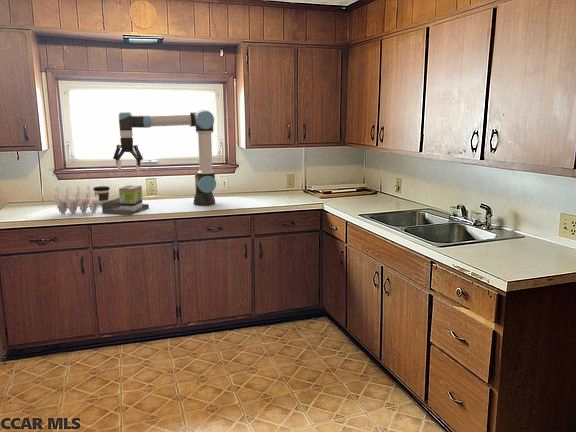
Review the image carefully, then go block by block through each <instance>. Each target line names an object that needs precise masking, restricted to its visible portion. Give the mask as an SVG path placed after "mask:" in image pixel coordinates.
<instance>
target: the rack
mask: <svg viewBox="0 0 576 432" xmlns="http://www.w3.org/2000/svg"><path fill="white" fill-rule="evenodd" d="M142 204H143V207H141V208H139V209H137V210H135V211H131V210H120V198H119V197H117V198H114V199H110V200H109V199H108V201H106V202H102V205H101V211H102V214H104V215H105V214H106V215H117V214H119V215H120V216H132V215H135V214H138V213H140V212H143V211H146V210H149V209H150V207H149V206H150V205H149V203H142Z"/></svg>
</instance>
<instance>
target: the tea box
mask: <svg viewBox="0 0 576 432" xmlns="http://www.w3.org/2000/svg"><path fill="white" fill-rule="evenodd" d="M118 194H119V197H118V198H120V210H131V211H135V210H137V209H139V208H141V207H143V204H144V203H143V187H142V185H135V184H134V185H131V184H130V185H126V186H125V185H124V186H123V187H120V188H119V189H118Z"/></svg>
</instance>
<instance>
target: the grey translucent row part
mask: <svg viewBox="0 0 576 432" xmlns="http://www.w3.org/2000/svg"><path fill="white" fill-rule="evenodd" d="M80 194H81V193H80V187H79V185H77V187H76V194H75V197H74V196H70V187H69V186H66V189H65V196H60V189H59V186H56V188H55V194H54V195H55V196H54V197H55V204H56V205H57V207H56V209H58V212H59V213H60V214H61V215H65V214H66V212H67V211H68V210H69V213H71V215H72V216H73V215H74V214H76V212H77V210H78V208H79V211H80V210H81V214H85V213H86V212H87V211H88V208H89V210H90V211H91V214H95V213H96V211H97V210H98V207H99V205H98V204H99V195H98V194H96V196H94V197H90V186H89V185H87V187H86V194H85V197H82V196H80Z"/></svg>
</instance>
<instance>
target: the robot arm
mask: <svg viewBox="0 0 576 432" xmlns="http://www.w3.org/2000/svg"><path fill="white" fill-rule="evenodd" d="M118 124H119V137H120V138H119V141H120V144H116V149H115V152H114V154H113V157H112V159H113V160H115V163H116V166H117V171H119V172H120V171H122V161H121V158H122V157H123V155H124V154H125V153H130V154H131V155H132V156H133V158H134V159H135V160H136V161H135V167H136V168H135V169H136V172H140V171H141V161H143V160H144V158H143V155H142V154H141V151H140V150H139V146H138V144H135V145H134V138H133V128H134V129H136V128H139V129H140V128H141V129H143V128H145V129H148V128H152V127H171V126H175V127H176V126H189V127H190V128H191V127H193V128H194V127H195V132H196V133H197V136H198V137H197V139H198V140H197V141H198V163H199V164H198V166H199V169H198V171H196V172H194V178H195V179H194V180H195V194H194V199H193V205H195V206H212V205H215V204H216V198H215V197H214V194H213V191H215V189H216V187H217V181H216V172H215V171H214V170H213V148H212V147H213V146H212V145H213V142H212V134H213V132H214V124H215V117H214V115H213V113H212V112H210V111H209V110H206V109H203V110H197V111H189V112H188V113H179V114H178V113H173V114H172V113H171V114H168V113H167V114H143V115H142V114H140V115H132V112H126V111H125V112H122V111H121V112H119V113H118Z"/></svg>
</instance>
